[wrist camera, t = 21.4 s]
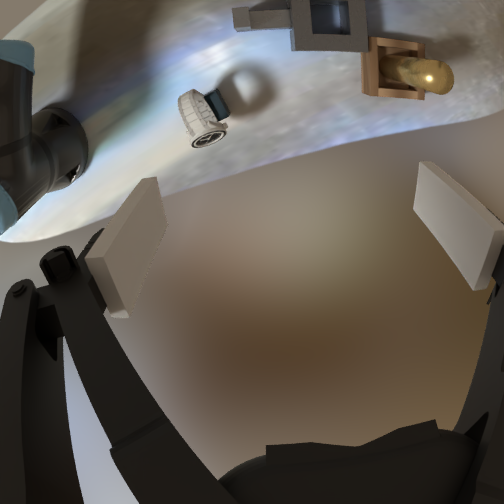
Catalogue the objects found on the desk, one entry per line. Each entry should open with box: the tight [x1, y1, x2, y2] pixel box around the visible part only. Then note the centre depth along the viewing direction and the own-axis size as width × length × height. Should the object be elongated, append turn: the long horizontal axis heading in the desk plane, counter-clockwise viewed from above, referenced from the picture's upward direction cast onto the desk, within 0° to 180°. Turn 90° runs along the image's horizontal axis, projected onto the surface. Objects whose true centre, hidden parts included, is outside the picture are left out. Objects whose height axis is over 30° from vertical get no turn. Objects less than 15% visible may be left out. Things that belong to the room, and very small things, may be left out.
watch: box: [178, 89, 230, 148], centre depth 40 cm, size 6×8×11 cm
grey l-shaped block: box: [232, 7, 292, 32], centre depth 34 cm, size 10×3×7 cm, turn 95°
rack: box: [361, 36, 425, 100], centre depth 38 cm, size 9×9×4 cm
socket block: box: [287, 0, 368, 53], centre depth 34 cm, size 10×10×5 cm
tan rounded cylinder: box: [379, 55, 454, 95], centre depth 32 cm, size 4×4×15 cm
